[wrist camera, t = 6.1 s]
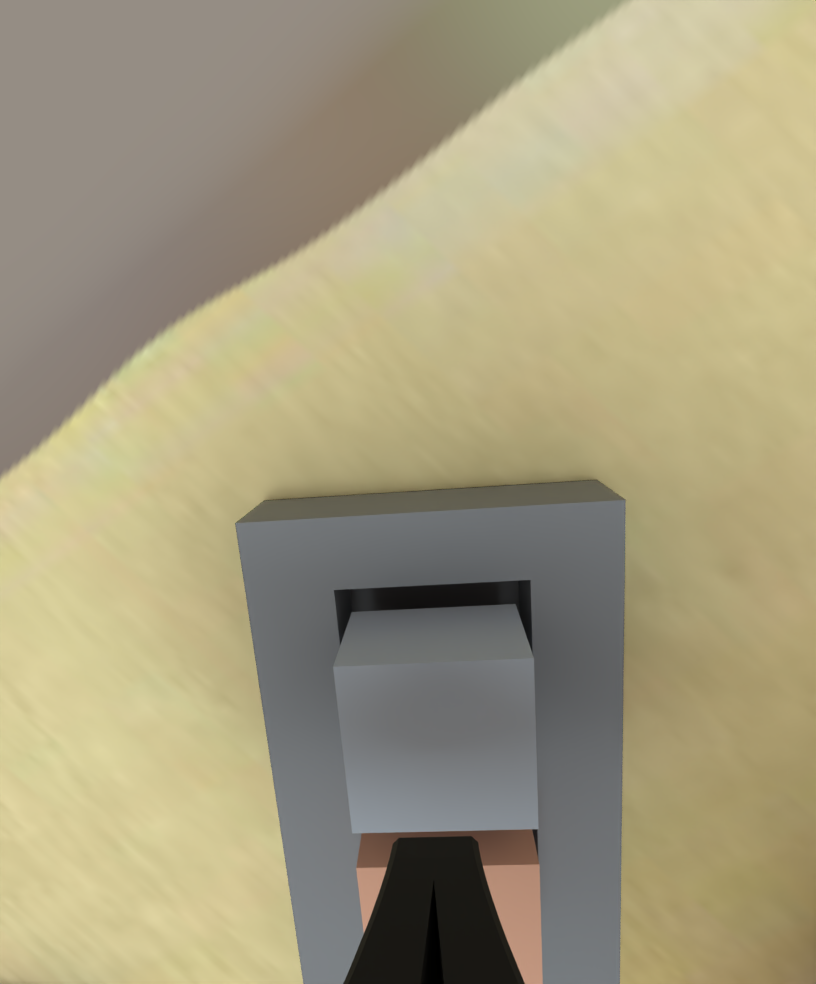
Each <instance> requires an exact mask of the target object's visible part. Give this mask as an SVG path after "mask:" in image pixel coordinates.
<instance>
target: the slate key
mask: <svg viewBox="0 0 816 984" xmlns="http://www.w3.org/2000/svg"><path fill="white" fill-rule="evenodd" d="M333 671H334V679H335V688H336V697H337V705H338V714H339V723H340V731H341V740H342V749H343V758H344V766H345V775H346V784H347V792H348V801H349V810H350V818H351V827H352V833H393V832H436V831H479V830H522V829H539V827H538V790H537V753H536V716H535V679H534V657H533V654H532V651H531V648H530V645H529V642H528V639H527V636H526V633H525V630H524V628H523V625H522V622H521V619H520V616H519V613H518V610H517V607H516V604H505V605H484V606H464V607H443V608H423V609H402V610H382V611H361V612H352V613H351V616H350V618H349V621H348V624H347V627H346V630H345V633H344V636H343V639H342V642H341V645H340V648H339V651H338V654H337V657H336V660H335V663H334V666H333Z"/></svg>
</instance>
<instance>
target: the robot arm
mask: <svg viewBox="0 0 816 984" xmlns="http://www.w3.org/2000/svg"><path fill="white" fill-rule="evenodd" d="M343 984H525V983H524V980H523V978H522V975H521V973H520V970H519V968H518V966H517V963H516V961H515V958H514V956H513V953H512V951H511V948H510V946H509V943H508V941H507V938H506V936H505V933H504V930H503V928H502V925H501V922H500V919H499V917H498V914H497V911H496V908H495V905H494V902H493V899H492V896H491V893H490V890H489V886H488V883H487V880H486V876H485V872H484V869H483V864H482V860H481V856H480V851H479V844H478V841H476V840H475V839H474V838H473V837H472V836H452V837H410V838H398V839H397V840H396V841H395V842H394V843H393V845H392V850H391V854H390V858H389V862H388V865H387V869H386V872H385V875H384V879H383V882H382V885H381V888H380V891H379V894H378V897H377V900H376V902H375V905H374V908H373V911H372V914H371V916H370V919H369V922H368V924H367V927H366V929H365V932H364V934H363V937H362V939H361V942H360V944H359V947H358V949H357V952H356V954H355V957H354V959H353V962H352V964H351V967H350V969H349V972H348V974H347V976H346V979H345V981H344V983H343Z"/></svg>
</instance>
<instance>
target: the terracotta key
mask: <svg viewBox="0 0 816 984" xmlns="http://www.w3.org/2000/svg"><path fill="white" fill-rule="evenodd" d="M452 836H472V837H473V838H474V839H475V840H476V841H478V844H479V851H480V856H481V860H482V864H483V869H484V872H485V876H486V880H487V883H488V886H489V890H490V893H491V896H492V899H493V902H494V905H495V908H496V911H497V914H498V917H499V919H500V922H501V925H502V928H503V930H504V933H505V936H506V938H507V941H508V943H509V946H510V948H511V951H512V953H513V956H514V958H515V961H516V963H517V966H518V968H519V970H520V973H521V975H522V978H523V980H524V983H525V984H543V975H542V938H541V901H540V864H539V860H538V855H537V850H536V845H535V841H534V836H533V831H532V829H522V830H479V831H436V832H393V833H362V834H361V841H360V847H359V853H358V860H357V866H356V871H357V879H358V888H359V897H360V905H361V914H362V923H363V932H365V929H366V927H367V924H368V922H369V919H370V916H371V914H372V911H373V908H374V905H375V902H376V900H377V897H378V894H379V891H380V888H381V885H382V882H383V879H384V875H385V872H386V869H387V865H388V862H389V858H390V854H391V850H392V845H393V843H394V842H395V841H396V840H397V839H398V838H410V837H452Z"/></svg>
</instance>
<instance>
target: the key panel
mask: <svg viewBox="0 0 816 984" xmlns="http://www.w3.org/2000/svg"><path fill="white" fill-rule="evenodd" d="M235 525H236V532H237V538H238V545H239V552H240V558H241V565H242V572H243V579H244V585H245V592H246V599H247V606H248V612H249V619H250V626H251V633H252V639H253V646H254V653H255V660H256V666H257V673H258V680H259V687H260V693H261V700H262V707H263V714H264V720H265V727H266V734H267V740H268V747H269V754H270V761H271V767H272V774H273V781H274V788H275V794H276V801H277V808H278V815H279V821H280V828H281V835H282V842H283V848H284V855H285V862H286V869H287V875H288V882H289V889H290V895H291V902H292V909H293V916H294V922H295V929H296V936H297V943H298V949H299V956H300V963H301V970H302V976H303V983H304V984H343V983H344V981H345V979H346V976H347V974H348V972H349V969H350V967H351V964H352V962H353V959H354V957H355V954H356V952H357V949H358V947H359V944H360V942H361V939H362V937H363V934H364V932H363V923H362V914H361V905H360V897H359V888H358V879H357V871H356V866H357V860H358V853H359V847H360V841H361V834H362V833H352V827H351V818H350V810H349V801H348V792H347V784H346V775H345V766H344V758H343V749H342V740H341V731H340V723H339V714H338V705H337V697H336V688H335V679H334V671H333V666H334V663H335V660H336V657H337V654H338V651H339V648H340V645H341V642H342V639H343V636H344V633H345V630H346V627H347V624H348V621H349V618H350V616H351V613H352V612H361V611H382V610H402V609H423V608H443V607H464V606H484V605H505V604H516V607H517V610H518V613H519V616H520V619H521V622H522V625H523V628H524V630H525V633H526V636H527V639H528V642H529V645H530V648H531V651H532V654H533V657H534V679H535V716H536V753H537V790H538V827H539V829H532V831H533V836H534V841H535V845H536V850H537V855H538V860H539V864H540V901H541V938H542V975H543V984H620V917H621V834H622V750H623V667H624V583H625V499H623V498H622V497H621V496H619V495H618V494H616V493H615V492H613V491H612V490H611V489H609V488H608V487H606V486H605V485H603V484H602V483H601V482H599V481H598V480H587V481H571V482H555V483H539V484H523V485H507V486H491V487H475V488H459V489H443V490H427V491H411V492H395V493H379V494H362V495H346V496H330V497H314V498H298V499H282V500H266V501H263V502H262V503H260V504H259V505H258V506H257V507H255V508H254V509H253V510H252V511H250V512H249V513H248V514H246V515H245V516H244V517H243V518H241V519H240V520H239V521H237V522H236V523H235Z"/></svg>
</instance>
